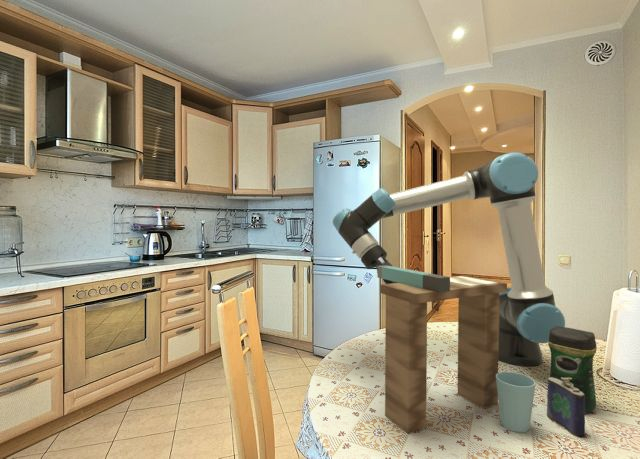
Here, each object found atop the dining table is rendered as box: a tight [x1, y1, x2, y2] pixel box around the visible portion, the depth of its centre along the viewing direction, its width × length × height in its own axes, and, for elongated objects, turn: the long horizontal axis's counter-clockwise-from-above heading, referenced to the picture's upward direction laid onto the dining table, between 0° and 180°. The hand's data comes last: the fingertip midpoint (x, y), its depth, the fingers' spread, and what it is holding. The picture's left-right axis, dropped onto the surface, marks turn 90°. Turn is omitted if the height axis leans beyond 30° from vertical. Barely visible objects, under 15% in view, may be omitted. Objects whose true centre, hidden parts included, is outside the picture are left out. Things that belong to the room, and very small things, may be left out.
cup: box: [496, 371, 537, 434], centre depth 80 cm, size 8×8×10 cm
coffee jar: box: [547, 326, 598, 413], centre depth 89 cm, size 10×8×19 cm
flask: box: [546, 376, 586, 439], centre depth 80 cm, size 9×3×11 cm, turn 8°
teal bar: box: [376, 265, 451, 292], centre depth 86 cm, size 3×22×3 cm, turn 26°
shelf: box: [380, 275, 508, 434], centre depth 86 cm, size 28×12×30 cm, turn 116°
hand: (416, 309), depth 101 cm, fingers open, 13 cm apart
